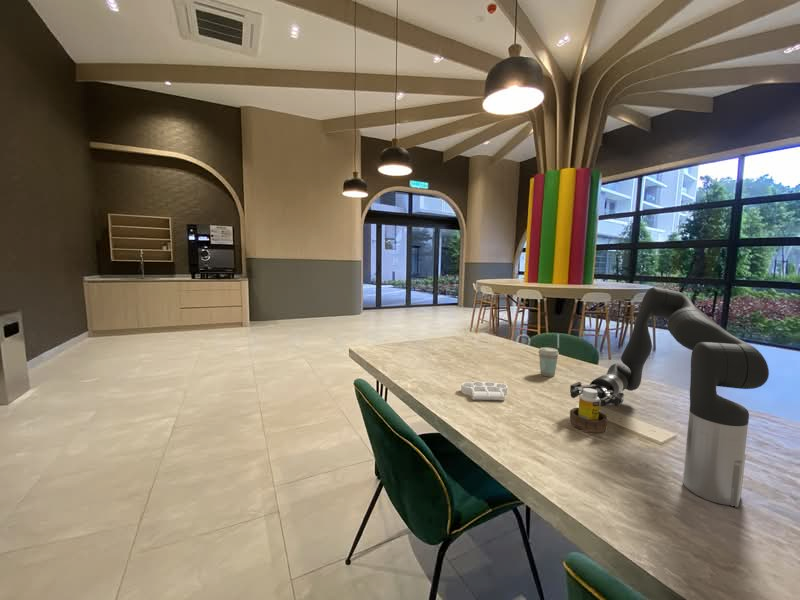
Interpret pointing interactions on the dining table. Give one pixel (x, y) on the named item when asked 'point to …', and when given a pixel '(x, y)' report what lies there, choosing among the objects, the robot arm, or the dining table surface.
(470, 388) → the white brass knuckles
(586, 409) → the supplement bottle
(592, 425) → the brown wooden bowl
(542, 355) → the coffee cup
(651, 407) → the dining table surface
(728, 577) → the dining table surface
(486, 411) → the dining table surface
